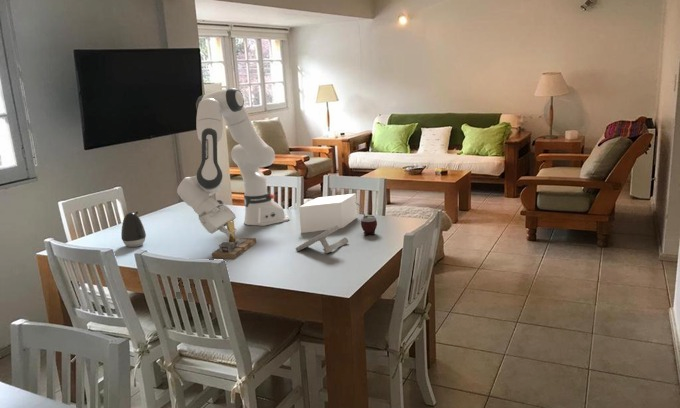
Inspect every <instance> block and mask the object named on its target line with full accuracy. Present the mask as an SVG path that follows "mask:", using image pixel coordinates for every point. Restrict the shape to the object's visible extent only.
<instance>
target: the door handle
mask: <svg viewBox="0 0 680 408" xmlns="http://www.w3.org/2000/svg"><path fill="white" fill-rule="evenodd" d="M339 229H340V228H339V227H338V225H336V226H334V227H332V228H330V229H328V230H323V232H320V234H318V235H315V236H314V237H313V238H310V239H309V240H307V241H306V242H303V243H302V244H301V245H298V246H297V247H295V250H296V251H297V252H300V251H301V250H304V249H306V248H308V247H310V246H312V245H313V244H315V243H317V242H320V243H321V246H322V247H323V248H322V250H323V252H324V254H329V253H331V252H333V250H335V249H338V248H340V247H342V246H344V245H347V244H348V243H349V239H348V237H343V238H342V239H340V240H338V241H335V243H332V244H329V243H328V241H327V239H326V237H327V236H329V235H331V234H333V233H335V232H336V231H338V230H339Z"/></svg>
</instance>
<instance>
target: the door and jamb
mask: <svg viewBox="0 0 680 408" xmlns="http://www.w3.org/2000/svg"><path fill="white" fill-rule="evenodd" d="M235 238H236V241H238V243H237V244H236V245H235V246H234V242H228V241H223V242H221V243H220V244H219V245H218V246H219V248H217V249H216V250H214V251H213V252H211V259H228V260H229V259H233V260H234V259H237V258H238V257H240V255H242V254H243V253H244V252H246V251H247V250H248V249H250V248H251V247H253V246H254V245H255V244H256V243H257V239H256V238H255V237H253V238H252V237H235ZM223 247H228V251H225V250H223Z"/></svg>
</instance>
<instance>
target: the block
mask: <svg viewBox="0 0 680 408" xmlns="http://www.w3.org/2000/svg"><path fill="white" fill-rule="evenodd" d="M355 202H356V203H357V193H349V194H340V195H339V194H338V195H329V196H328V195H327V196H320V197H316V198H313V199H312V200H309V201H308V202H306V203H304V204H302V205H300V206H299V207H298V208H299V221H300V222H299V223H300V233H301V234H303V233H312V232H319V231H320V232H321V231H326V230H328V229H330V228H332V227H334V226H336V225H338V227H339V229H343V228H345V227H346V226H347V225H349V224H350V223H351V222H353V221H354V220H356V219H357V218H358V209H357V208H358V207H357V206H358V205H357V204H356V203H355Z"/></svg>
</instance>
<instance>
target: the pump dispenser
mask: <svg viewBox="0 0 680 408" xmlns="http://www.w3.org/2000/svg"><path fill="white" fill-rule="evenodd" d="M138 214H139V211H135V212H132V211H131V212H127V213H126V214H125V215H124V218H123V220H122V226H121V240H122V243H123V244H124V245H125V246H126V247H129V248H137V247H140V246H142V245H143V244H144V243H145V241H146V238H147V233H146V230H145V227H144V224H143V222H142V220H141V219H140V217H139V215H138Z"/></svg>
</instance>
